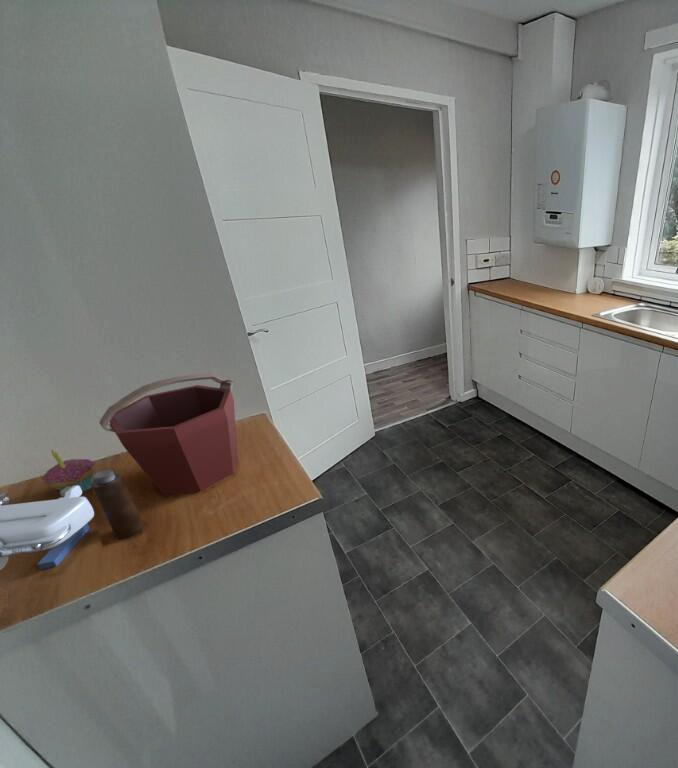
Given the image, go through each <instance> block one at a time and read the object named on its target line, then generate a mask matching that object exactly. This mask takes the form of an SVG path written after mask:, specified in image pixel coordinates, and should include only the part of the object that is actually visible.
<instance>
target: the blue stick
mask: <svg viewBox="0 0 678 768" xmlns="http://www.w3.org/2000/svg"><path fill="white" fill-rule="evenodd" d="M90 529H91V528H90V526H89V524H88V523H87V524H86V525H84V526H83V527H82V528H81V529H80V530H78V531H77V532H76V533H75V534H73V535H72V536H71V537H69V538H68V539H67V540H65V541H64V542H62V543H61V544H59V545H57V546H55V547H52V548H50V549H49V550H48V551H47V553H46V554H45V555H44V556H43V557H42V558H41V559H40V560H39V561H38V562H37V564H36V566H37V567H38V569H39V570H40V571H41V570H45V569H51V568H56V567H58V565H60V563H62V561H63V560H64V559H65V558H66V556H67V555H69V553H70V552H71V551H72V550H73V548H75V546H76V545H77V544H78V543H79V542H80V541H81V539H82V538H83V537H84V536H85V535H86V534H87V533H88V531H89V530H90Z"/></svg>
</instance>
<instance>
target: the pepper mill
mask: <svg viewBox="0 0 678 768" xmlns="http://www.w3.org/2000/svg"><path fill="white" fill-rule="evenodd" d="M91 489H92V491H93V494H94V495H95V498H96V499H97V501H98V504H99V506H100V508H101V510H102V512H103V514H104V516H105V518H106V520H107V522H108V524H109V526H110V528H111V530H112V532H113V534H114V536H115V537H116V538H117V539H125V538H130V537H131V536H134V535H136V534H138V533H139V532H141V531H142V529H144V527H145V523H144V522H143V520H142V517H141V515H140V513H139V511H138V509H137V507H136V503H135V502H134V500H133V497H132V495H131V493H130V490H129V488H128V486H127V484H126V482H125V479H124V477H123V475H122V474H121V473H118V472H114V471H113V470H112V469H103V470H101V471H99V472H97V473H94V475H93V482H92V483H91Z"/></svg>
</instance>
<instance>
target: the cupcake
mask: <svg viewBox="0 0 678 768" xmlns="http://www.w3.org/2000/svg"><path fill="white" fill-rule="evenodd" d="M50 451H51V452H52V453H51V455H52V456H53V458H54V459H55V461H56V462H57V464H55V465H54V466H52V467H50V468H49V469H48V470H46V472H45V473H44V474H43V476H42V481H43V483H44V485H45V486H46V487H48V488H50V489H56V490H58V491H59V492H61V491H62V490H63V489H65V487H69V486H77V485H79V486H80V488H81V490H82V492H85V491H86V490H90V489H92V487H91V483H92V482H93V481H94V475H95V474H96V471H97V468H98V467H97V465H96V464H95V462H94V461H93V460H91V459H88V458H74V459H73V458H71V459H68V460H64V461H63V460H62V458H61V457H60V456H59V454H58V453H57V452H56V451H54V450H53V449H51V450H50Z"/></svg>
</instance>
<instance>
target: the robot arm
mask: <svg viewBox="0 0 678 768" xmlns="http://www.w3.org/2000/svg"><path fill="white" fill-rule="evenodd" d="M59 494H60V496H61V497H58V498H57V499H56V498H55V499H48V500H39V501H31V502H19V503H12V504H10V502H11V498H10V497H9V495H8V494H7V493H0V571H2V570H3V569H4V568H5V567H6V565H7V564H8V562H9V559H10V557H11V556H15V555H19V554H21V555H22V554H32V553H38V552H41V551H44V550H50V549H51V548H52V547H55V546H57V545H59V544H61V543H62V542H64V541H65V540H67V539H68V538H69V537H71V536H72V535H73V534H75V533H76V532H77V531H78V530H80V529H81V528H82V527H83V526H84V525H86V524H88V523H89V522H90V521H92V519H94V517H95V510H94V508H93V506H92V504H91V503H90V501H89V500H88V498H87V497H86V496H82V494H83V491H82V490H81V488H80V486H79V485H77V486H69V487H65V489H63V490H62V491H59Z"/></svg>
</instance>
